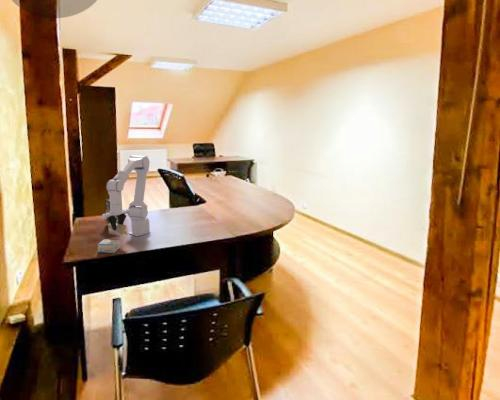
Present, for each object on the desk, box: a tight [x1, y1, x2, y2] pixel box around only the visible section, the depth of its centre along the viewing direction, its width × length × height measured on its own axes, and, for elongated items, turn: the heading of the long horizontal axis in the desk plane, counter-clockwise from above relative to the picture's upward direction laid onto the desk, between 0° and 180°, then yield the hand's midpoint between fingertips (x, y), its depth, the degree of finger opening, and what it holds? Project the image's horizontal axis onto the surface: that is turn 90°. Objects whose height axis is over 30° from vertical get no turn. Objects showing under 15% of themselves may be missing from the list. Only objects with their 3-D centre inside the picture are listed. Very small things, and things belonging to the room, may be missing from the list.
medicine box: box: [97, 238, 121, 254], centre depth 182 cm, size 8×4×9 cm
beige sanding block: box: [108, 224, 128, 237], centre depth 189 cm, size 3×12×5 cm, turn 52°
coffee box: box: [104, 198, 118, 226], centre depth 220 cm, size 9×6×16 cm
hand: (117, 229), depth 189 cm, fingers closed on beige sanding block, 3 cm apart
